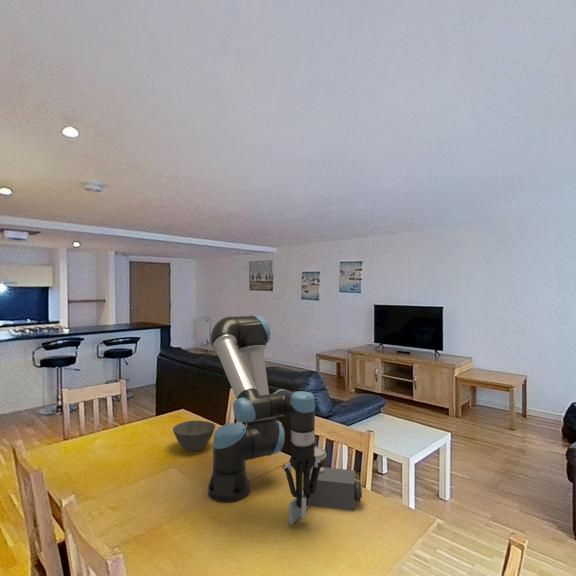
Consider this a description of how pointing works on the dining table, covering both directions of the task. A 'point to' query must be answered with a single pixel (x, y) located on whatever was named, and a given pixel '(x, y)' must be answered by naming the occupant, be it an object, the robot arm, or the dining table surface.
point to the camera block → (336, 489)
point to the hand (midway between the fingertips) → (302, 516)
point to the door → (294, 511)
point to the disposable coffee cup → (320, 455)
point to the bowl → (194, 434)
